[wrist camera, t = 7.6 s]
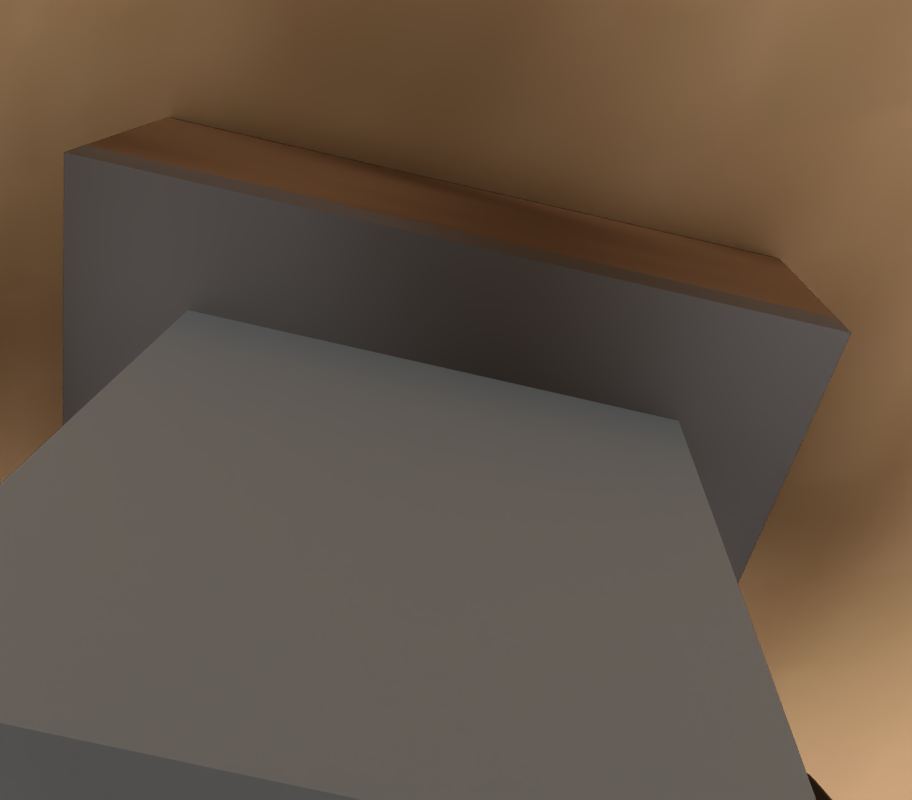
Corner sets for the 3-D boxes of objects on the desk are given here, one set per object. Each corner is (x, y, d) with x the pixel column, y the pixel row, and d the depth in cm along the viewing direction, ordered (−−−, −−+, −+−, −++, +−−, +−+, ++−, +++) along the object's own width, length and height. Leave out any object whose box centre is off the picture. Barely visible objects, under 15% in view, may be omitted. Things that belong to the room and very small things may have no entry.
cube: (160, 680, 13) (-114, 1192, 7) (187, 309, 10) (-211, 678, 5) (550, 763, 13) (569, 1326, 7) (678, 421, 10) (855, 902, 5)
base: (139, 604, 16) (61, 729, 13) (167, 118, 12) (63, 152, 9) (603, 705, 16) (618, 846, 13) (779, 258, 12) (851, 333, 9)
